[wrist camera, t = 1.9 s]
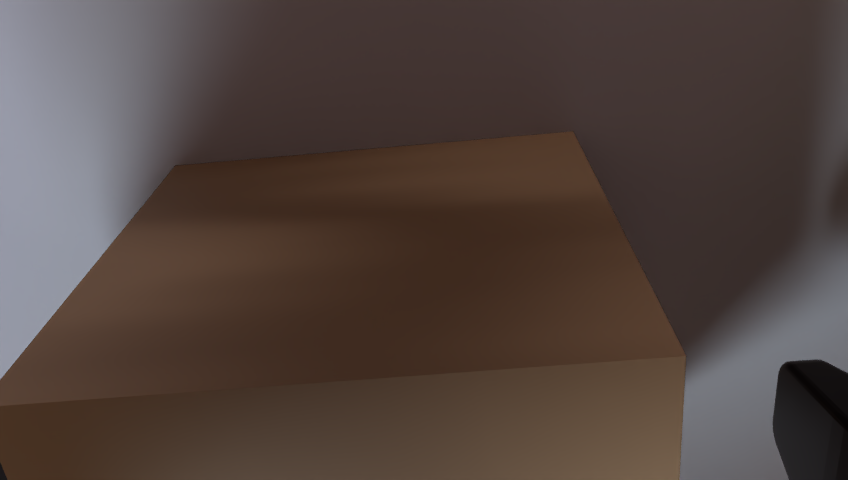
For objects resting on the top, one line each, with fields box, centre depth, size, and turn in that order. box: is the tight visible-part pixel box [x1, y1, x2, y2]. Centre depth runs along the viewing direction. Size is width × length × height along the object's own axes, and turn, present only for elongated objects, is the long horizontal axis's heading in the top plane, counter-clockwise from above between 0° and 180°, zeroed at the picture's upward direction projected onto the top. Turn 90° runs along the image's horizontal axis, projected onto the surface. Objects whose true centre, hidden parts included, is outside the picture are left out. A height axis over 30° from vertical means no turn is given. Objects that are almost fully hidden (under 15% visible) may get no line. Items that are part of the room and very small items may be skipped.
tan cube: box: [0, 131, 686, 480], centre depth 9 cm, size 5×5×5 cm
